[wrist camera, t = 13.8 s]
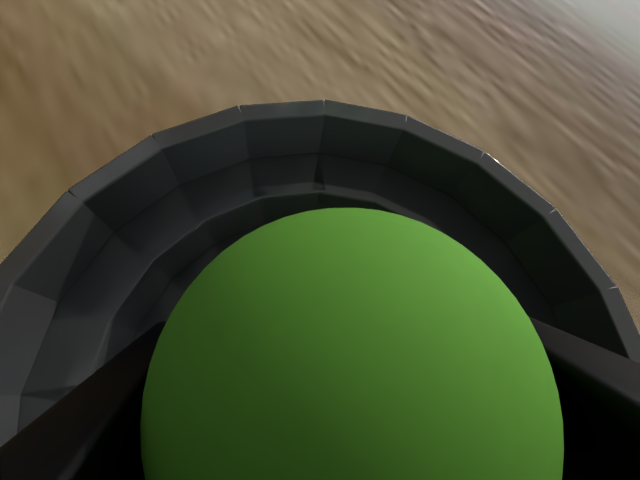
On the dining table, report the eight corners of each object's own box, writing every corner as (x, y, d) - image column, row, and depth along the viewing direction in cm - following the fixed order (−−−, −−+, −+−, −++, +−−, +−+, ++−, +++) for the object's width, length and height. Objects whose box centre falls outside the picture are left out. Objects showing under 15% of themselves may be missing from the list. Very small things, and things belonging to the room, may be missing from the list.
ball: (405, 601, 8) (737, 1159, 2) (138, 475, 9) (-182, 668, 3) (473, 324, 11) (721, 241, 5) (263, 235, 11) (245, 51, 5)
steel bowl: (631, 634, 11) (842, 782, 7) (20, 833, 9) (-222, 1250, 4) (465, 161, 17) (527, 85, 12) (65, 200, 14) (-24, 121, 10)
